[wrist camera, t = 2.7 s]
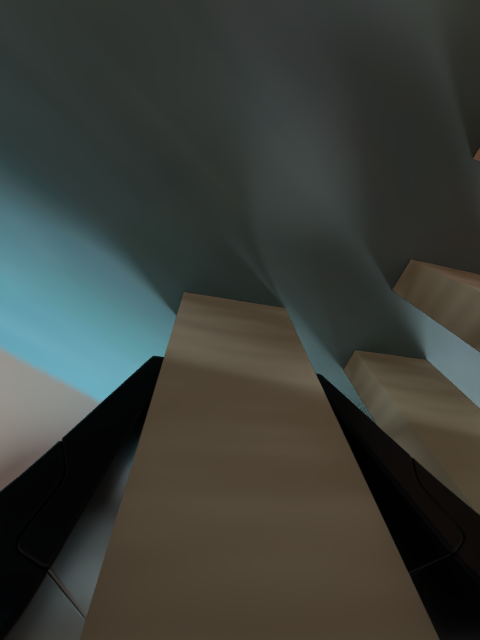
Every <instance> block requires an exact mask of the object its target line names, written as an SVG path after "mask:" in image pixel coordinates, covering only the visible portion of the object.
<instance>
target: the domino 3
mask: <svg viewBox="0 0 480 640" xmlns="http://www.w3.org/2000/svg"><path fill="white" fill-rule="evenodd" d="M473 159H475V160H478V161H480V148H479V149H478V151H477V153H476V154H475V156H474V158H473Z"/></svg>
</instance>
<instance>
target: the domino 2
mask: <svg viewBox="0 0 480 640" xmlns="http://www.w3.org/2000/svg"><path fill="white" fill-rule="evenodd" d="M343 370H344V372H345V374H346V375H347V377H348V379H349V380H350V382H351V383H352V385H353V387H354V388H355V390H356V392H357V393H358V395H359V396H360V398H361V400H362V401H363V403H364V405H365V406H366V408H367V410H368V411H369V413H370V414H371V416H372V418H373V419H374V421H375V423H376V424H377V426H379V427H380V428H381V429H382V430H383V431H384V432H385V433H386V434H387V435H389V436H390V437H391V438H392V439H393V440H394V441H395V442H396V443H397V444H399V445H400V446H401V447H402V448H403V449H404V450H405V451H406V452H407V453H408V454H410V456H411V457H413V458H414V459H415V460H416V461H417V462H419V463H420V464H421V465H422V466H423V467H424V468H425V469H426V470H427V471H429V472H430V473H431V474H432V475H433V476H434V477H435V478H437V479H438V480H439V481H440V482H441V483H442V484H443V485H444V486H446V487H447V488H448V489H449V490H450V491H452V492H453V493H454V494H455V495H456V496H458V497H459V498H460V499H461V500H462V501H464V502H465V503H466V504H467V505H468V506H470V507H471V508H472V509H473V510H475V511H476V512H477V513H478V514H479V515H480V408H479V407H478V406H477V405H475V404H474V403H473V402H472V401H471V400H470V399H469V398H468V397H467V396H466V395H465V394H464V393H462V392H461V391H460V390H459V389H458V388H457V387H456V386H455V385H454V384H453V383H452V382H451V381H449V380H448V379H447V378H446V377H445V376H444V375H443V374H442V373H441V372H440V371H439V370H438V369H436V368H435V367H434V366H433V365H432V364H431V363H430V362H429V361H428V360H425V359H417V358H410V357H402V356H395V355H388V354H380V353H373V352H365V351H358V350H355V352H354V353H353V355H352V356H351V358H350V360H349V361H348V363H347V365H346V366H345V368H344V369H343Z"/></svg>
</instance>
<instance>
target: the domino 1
mask: <svg viewBox="0 0 480 640" xmlns="http://www.w3.org/2000/svg"><path fill="white" fill-rule="evenodd" d="M80 640H439V638H438V635H437V633H436V631H435V629H434V627H433V625H432V622H431V620H430V618H429V616H428V614H427V612H426V610H425V607H424V605H423V603H422V601H421V599H420V597H419V595H418V592H417V590H416V588H415V586H414V584H413V582H412V580H411V577H410V575H409V573H408V571H407V569H406V567H405V564H404V562H403V560H402V558H401V556H400V554H399V552H398V549H397V547H396V545H395V543H394V541H393V539H392V537H391V534H390V532H389V530H388V528H387V526H386V524H385V522H384V519H383V517H382V515H381V513H380V511H379V509H378V506H377V504H376V502H375V500H374V498H373V496H372V494H371V491H370V489H369V487H368V485H367V483H366V481H365V479H364V476H363V474H362V472H361V470H360V468H359V466H358V464H357V461H356V459H355V457H354V455H353V453H352V451H351V448H350V446H349V444H348V442H347V440H346V438H345V436H344V433H343V431H342V429H341V427H340V425H339V423H338V421H337V418H336V416H335V414H334V412H333V410H332V408H331V406H330V403H329V401H328V399H327V397H326V395H325V393H324V390H323V388H322V386H321V384H320V382H319V380H318V378H317V375H316V373H315V371H314V369H313V367H312V365H311V363H310V360H309V358H308V356H307V354H306V352H305V350H304V347H303V345H302V343H301V341H300V339H299V337H298V335H297V332H296V330H295V328H294V326H293V324H292V322H291V320H290V317H289V315H288V313H287V311H286V309H285V308H282V307H275V306H269V305H263V304H256V303H250V302H244V301H237V300H231V299H225V298H219V297H212V296H206V295H200V294H193V293H187V292H184V293H183V296H182V300H181V303H180V306H179V310H178V313H177V316H176V320H175V323H174V326H173V330H172V333H171V336H170V340H169V343H168V346H167V350H166V353H165V356H164V360H163V363H162V366H161V370H160V373H159V376H158V380H157V383H156V386H155V390H154V393H153V396H152V400H151V403H150V407H149V410H148V413H147V417H146V420H145V423H144V427H143V430H142V433H141V437H140V440H139V443H138V447H137V450H136V453H135V457H134V460H133V463H132V467H131V470H130V473H129V477H128V480H127V483H126V487H125V490H124V493H123V497H122V500H121V503H120V507H119V510H118V513H117V517H116V520H115V523H114V527H113V530H112V533H111V537H110V540H109V543H108V547H107V550H106V553H105V557H104V560H103V563H102V567H101V570H100V573H99V577H98V580H97V583H96V587H95V590H94V593H93V597H92V600H91V603H90V607H89V610H88V613H87V617H86V620H85V623H84V627H83V630H82V633H81V637H80Z"/></svg>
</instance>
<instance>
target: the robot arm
mask: <svg viewBox="0 0 480 640" xmlns="http://www.w3.org/2000/svg"><path fill="white" fill-rule="evenodd" d="M163 360H164V357H160V356H152V357H151V358H150V359H149V360H148V361H147V362H146V363H144V364H143V365H142V366H141V367H140V368H139V369H138V370H137V371H136V372H135V373H133V374H132V375H131V376H130V377H129V378H128V379H127V380H126V381H125V382H124V383H122V384H121V385H120V386H119V387H118V388H117V389H116V390H115V391H114V392H113V393H111V394H110V395H109V396H108V397H107V398H106V399H105V400H104V401H103V402H102V403H100V404H99V405H98V406H97V407H96V408H95V409H94V410H93V411H92V412H90V413H89V414H88V415H87V416H86V417H85V418H84V419H83V420H82V421H81V422H79V423H78V424H77V425H76V426H75V427H74V428H73V429H72V430H71V431H70V432H69V433H67V434H66V435H65V436H64V437H63V438H62V441H58V442H57V443H56V444H55V445H54V446H53V447H52V448H51V449H50V450H48V451H47V452H46V453H45V454H44V455H43V456H42V457H41V458H40V459H38V460H37V461H36V462H35V463H34V464H33V465H31V466H30V467H29V468H28V469H27V470H26V471H25V472H23V473H22V474H21V475H20V476H19V477H18V478H16V479H15V480H14V481H12V482H11V483H10V484H9V485H8V486H6V487H5V488H4V489H3V490H1V491H0V640H80V637H81V633H82V630H83V627H84V623H85V620H86V617H87V613H88V610H89V607H90V603H91V600H92V597H93V593H94V590H95V587H96V583H97V580H98V577H99V573H100V570H101V567H102V563H103V560H104V557H105V553H106V550H107V547H108V543H109V540H110V537H111V533H112V530H113V527H114V523H115V520H116V517H117V513H118V510H119V507H120V503H121V500H122V497H123V493H124V490H125V487H126V483H127V480H128V477H129V473H130V470H131V467H132V463H133V460H134V457H135V453H136V450H137V447H138V443H139V440H140V437H141V433H142V430H143V427H144V423H145V420H146V417H147V413H148V410H149V407H150V403H151V400H152V396H153V393H154V390H155V386H156V383H157V380H158V376H159V373H160V370H161V366H162V363H163ZM316 375H317V378H318V380H319V382H320V384H321V386H322V388H323V390H324V393H325V395H326V397H327V399H328V401H329V403H330V406H331V408H332V410H333V412H334V414H335V416H336V418H337V421H338V423H339V425H340V427H341V429H342V431H343V433H344V436H345V438H346V440H347V442H348V444H349V446H350V448H351V451H352V453H353V455H354V457H355V459H356V461H357V464H358V466H359V468H360V470H361V472H362V474H363V476H364V479H365V481H366V483H367V485H368V487H369V489H370V491H371V494H372V496H373V498H374V500H375V502H376V504H377V506H378V509H379V511H380V513H381V515H382V517H383V519H384V522H385V524H386V526H387V528H388V530H389V532H390V534H391V537H392V539H393V541H394V543H395V545H396V547H397V549H398V552H399V554H400V556H401V558H402V560H403V562H404V564H405V567H406V569H407V571H408V573H409V575H410V577H411V580H412V582H413V584H414V586H415V588H416V590H417V592H418V595H419V597H420V599H421V601H422V603H423V605H424V607H425V610H426V612H427V614H428V616H429V618H430V620H431V622H432V625H433V627H434V629H435V631H436V633H437V635H438V638H439V640H480V515H479V514H478V513H477V512H476V511H475V510H473V509H472V508H471V507H470V506H468V505H467V504H466V503H465V502H464V501H462V500H461V499H460V498H459V497H458V496H456V495H455V494H454V493H453V492H452V491H450V490H449V489H448V488H447V487H446V486H444V485H443V484H442V483H441V482H440V481H439V480H438V479H437V478H435V477H434V476H433V475H432V474H431V473H430V472H429V471H427V470H426V469H425V468H424V467H423V466H422V465H421V464H420V463H419V462H417V461H416V460H415V459H414V458H413V457H411V456H410V454H408V453H407V452H406V451H405V450H404V449H403V448H402V447H401V446H400V445H399V444H397V443H396V442H395V441H394V440H393V439H392V438H391V437H390V436H389V435H387V434H386V433H385V432H384V431H383V430H382V429H381V428H380V427H379V426H377V425H376V424H375V423H374V422H373V421H372V420H371V419H370V418H369V417H367V416H366V415H365V414H364V413H363V412H362V411H361V410H360V409H359V408H358V407H356V406H355V405H354V404H353V403H352V402H351V401H350V400H349V399H348V398H346V397H345V396H344V395H343V394H342V393H341V392H340V391H339V390H338V389H336V388H335V387H334V386H333V385H332V384H331V383H330V382H329V381H328V380H327V379H325V378H324V377H323V376H322V375H321V374H316Z"/></svg>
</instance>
